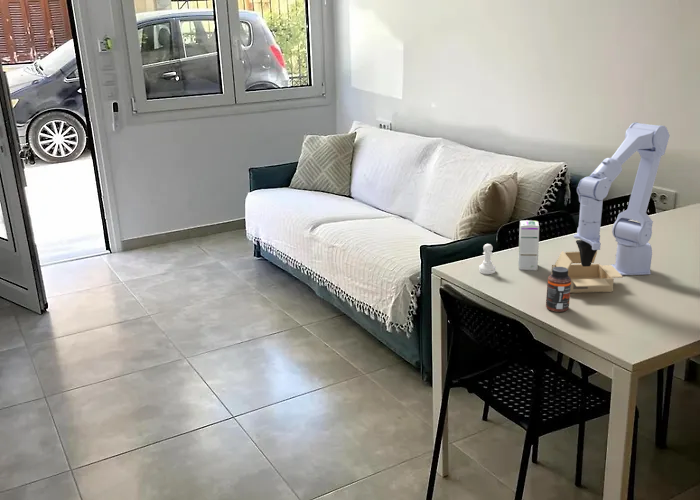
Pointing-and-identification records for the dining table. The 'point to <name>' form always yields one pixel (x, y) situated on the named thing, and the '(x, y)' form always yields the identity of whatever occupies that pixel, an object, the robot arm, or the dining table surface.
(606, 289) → the carton
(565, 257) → the flap long
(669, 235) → the dining table surface
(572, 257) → the flap short
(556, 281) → the supplement bottle
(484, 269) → the chess pawn
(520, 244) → the syrup box
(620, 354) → the dining table surface
